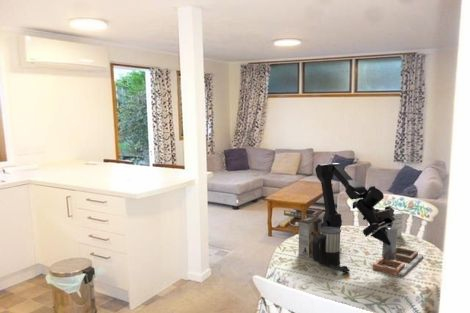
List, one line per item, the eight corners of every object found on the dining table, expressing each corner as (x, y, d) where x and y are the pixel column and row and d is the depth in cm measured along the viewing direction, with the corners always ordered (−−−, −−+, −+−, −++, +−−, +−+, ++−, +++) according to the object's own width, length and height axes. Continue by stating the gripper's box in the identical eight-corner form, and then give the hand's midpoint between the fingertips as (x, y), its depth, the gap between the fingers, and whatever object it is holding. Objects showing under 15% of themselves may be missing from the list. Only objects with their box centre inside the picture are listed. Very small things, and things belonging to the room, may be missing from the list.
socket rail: (402, 277, 143) (402, 272, 143) (372, 268, 151) (372, 264, 151) (423, 257, 162) (423, 252, 162) (395, 250, 170) (395, 246, 170)
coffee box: (310, 249, 173) (311, 216, 171) (321, 253, 168) (322, 219, 166) (297, 254, 167) (298, 219, 166) (309, 258, 163) (309, 223, 161)
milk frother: (324, 257, 164) (325, 224, 162) (359, 266, 154) (360, 232, 152) (308, 267, 153) (309, 233, 151) (344, 278, 143) (345, 241, 141)
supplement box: (380, 234, 193) (381, 211, 192) (390, 232, 196) (391, 209, 195) (391, 238, 187) (392, 214, 185) (402, 236, 190) (403, 212, 188)
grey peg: (386, 260, 148) (387, 230, 147) (379, 255, 153) (381, 226, 152) (398, 259, 149) (399, 230, 147) (391, 254, 154) (392, 226, 152)
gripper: (371, 204, 144) (398, 238, 138) (391, 197, 157) (417, 227, 151) (352, 220, 151) (377, 253, 145) (373, 211, 164) (396, 241, 157)
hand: (393, 243), depth 149 cm, fingers closed on grey peg, 5 cm apart
